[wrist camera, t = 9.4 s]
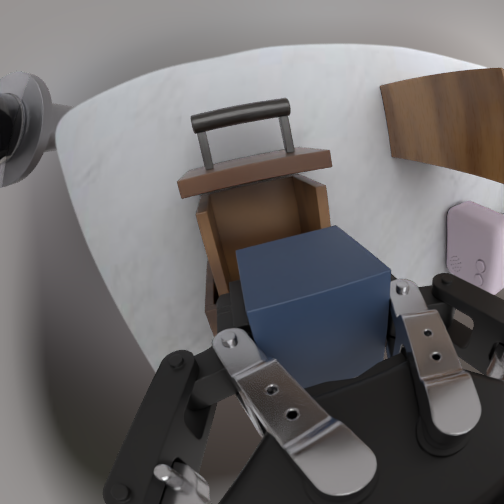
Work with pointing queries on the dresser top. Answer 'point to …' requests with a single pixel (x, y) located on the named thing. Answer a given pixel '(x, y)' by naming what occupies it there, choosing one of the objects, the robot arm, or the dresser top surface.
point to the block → (317, 304)
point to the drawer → (253, 190)
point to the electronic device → (476, 245)
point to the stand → (449, 120)
